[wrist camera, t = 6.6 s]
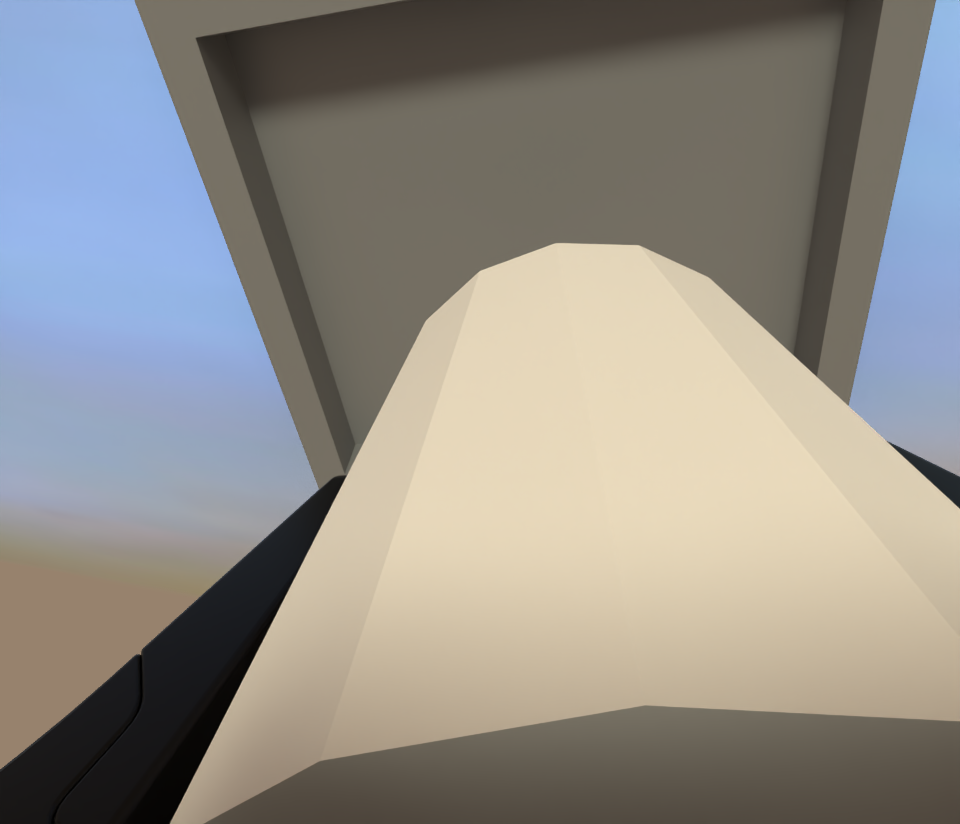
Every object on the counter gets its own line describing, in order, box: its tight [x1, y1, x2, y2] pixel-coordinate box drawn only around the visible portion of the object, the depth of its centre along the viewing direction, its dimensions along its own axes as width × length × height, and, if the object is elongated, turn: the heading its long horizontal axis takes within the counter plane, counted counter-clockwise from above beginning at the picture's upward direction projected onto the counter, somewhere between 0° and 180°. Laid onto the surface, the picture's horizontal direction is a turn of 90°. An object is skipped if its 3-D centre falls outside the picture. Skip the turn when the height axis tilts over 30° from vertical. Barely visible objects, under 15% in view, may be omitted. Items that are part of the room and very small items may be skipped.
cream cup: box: [170, 243, 960, 824], centre depth 7 cm, size 7×7×7 cm
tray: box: [135, 0, 936, 489], centre depth 16 cm, size 16×14×2 cm
